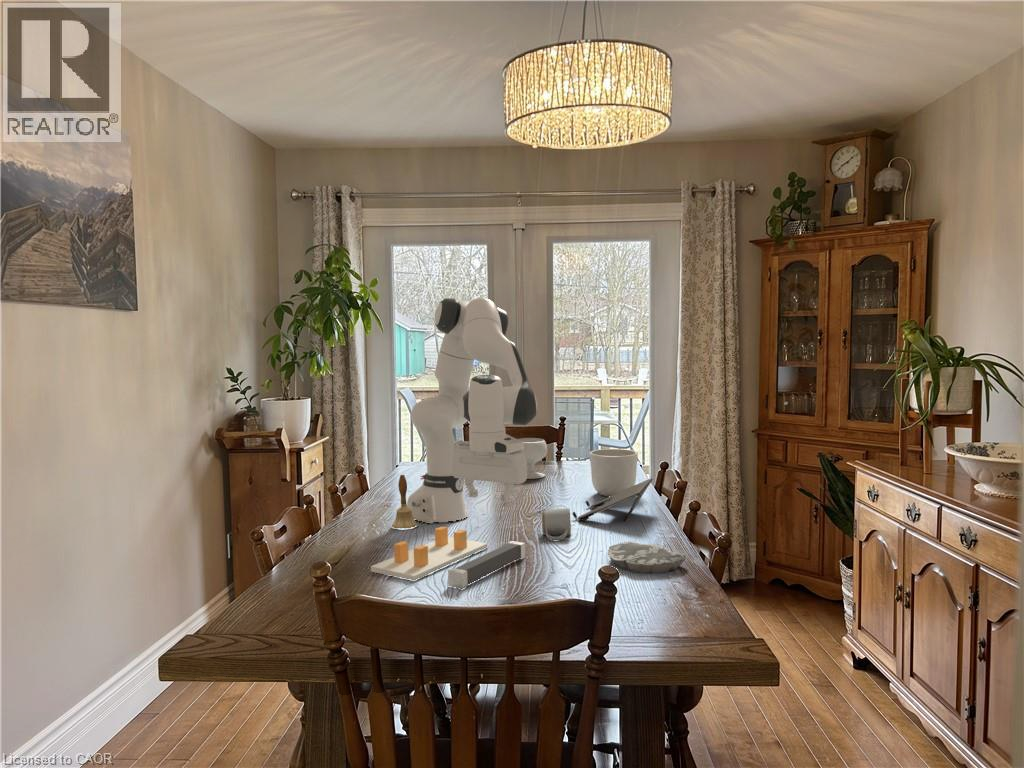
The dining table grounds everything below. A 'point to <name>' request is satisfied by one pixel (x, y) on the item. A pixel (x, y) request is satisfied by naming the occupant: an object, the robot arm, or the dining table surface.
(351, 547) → the dining table surface
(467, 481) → the robot arm
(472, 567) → the bar
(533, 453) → the chalice
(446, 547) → the pegged board
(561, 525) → the ceramic mug
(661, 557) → the brain slice
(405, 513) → the hand bell
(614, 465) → the planter
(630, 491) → the portable electronic device stand
